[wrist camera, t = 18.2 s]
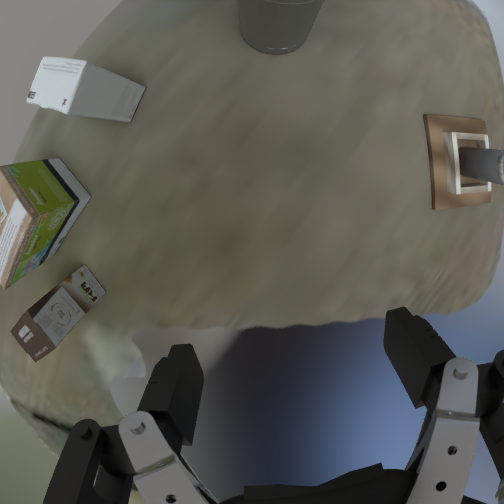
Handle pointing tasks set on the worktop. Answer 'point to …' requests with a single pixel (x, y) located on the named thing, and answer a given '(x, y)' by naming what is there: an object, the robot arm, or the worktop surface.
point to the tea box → (35, 214)
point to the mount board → (454, 161)
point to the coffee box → (57, 313)
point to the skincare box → (84, 90)
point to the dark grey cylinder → (482, 164)
